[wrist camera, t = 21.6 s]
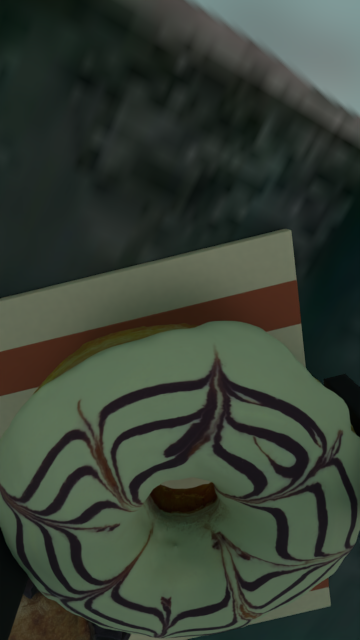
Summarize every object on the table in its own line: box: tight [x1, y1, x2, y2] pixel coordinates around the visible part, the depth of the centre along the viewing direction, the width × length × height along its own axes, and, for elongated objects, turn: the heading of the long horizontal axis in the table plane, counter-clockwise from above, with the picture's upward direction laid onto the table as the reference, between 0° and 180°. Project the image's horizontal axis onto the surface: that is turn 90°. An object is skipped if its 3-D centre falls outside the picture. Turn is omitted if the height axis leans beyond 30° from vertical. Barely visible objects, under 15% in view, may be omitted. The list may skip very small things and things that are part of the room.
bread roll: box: [8, 578, 131, 640], centre depth 17 cm, size 11×8×4 cm
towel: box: [0, 229, 331, 640], centre depth 17 cm, size 24×23×1 cm
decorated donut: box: [0, 321, 360, 638], centre depth 10 cm, size 10×11×4 cm
